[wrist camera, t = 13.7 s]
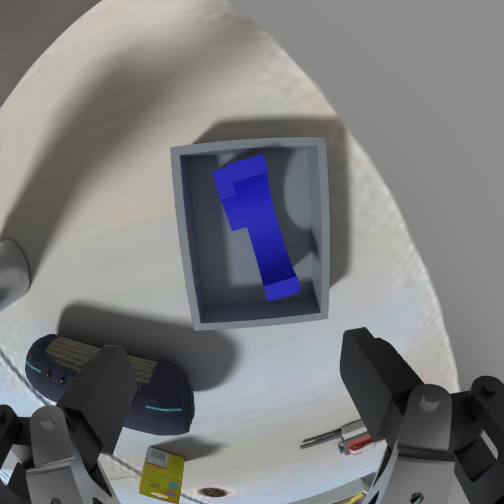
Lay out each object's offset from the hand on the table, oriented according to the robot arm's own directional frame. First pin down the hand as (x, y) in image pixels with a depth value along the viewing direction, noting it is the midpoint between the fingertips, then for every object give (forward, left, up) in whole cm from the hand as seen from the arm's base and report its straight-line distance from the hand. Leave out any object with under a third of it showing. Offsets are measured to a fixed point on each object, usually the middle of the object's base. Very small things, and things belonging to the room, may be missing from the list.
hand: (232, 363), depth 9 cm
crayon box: (-18, -41, -21) cm, 50 cm away
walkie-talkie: (+18, -39, -21) cm, 48 cm away
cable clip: (+2, +2, -20) cm, 20 cm away
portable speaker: (-19, -17, -21) cm, 33 cm away
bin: (+2, +1, -21) cm, 21 cm away
